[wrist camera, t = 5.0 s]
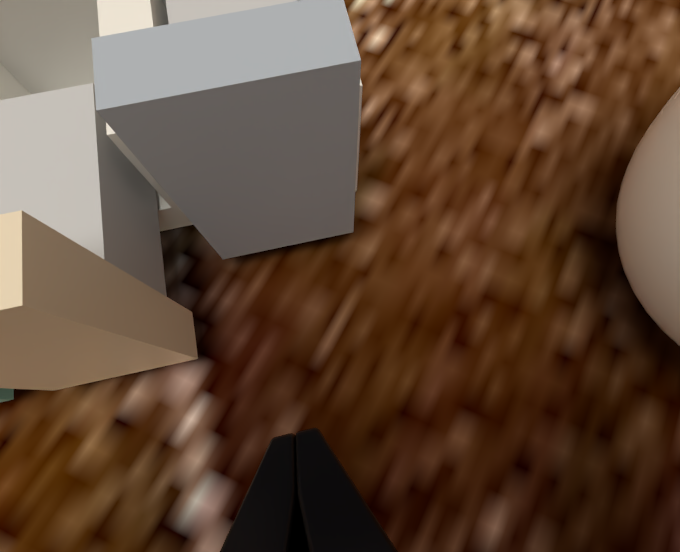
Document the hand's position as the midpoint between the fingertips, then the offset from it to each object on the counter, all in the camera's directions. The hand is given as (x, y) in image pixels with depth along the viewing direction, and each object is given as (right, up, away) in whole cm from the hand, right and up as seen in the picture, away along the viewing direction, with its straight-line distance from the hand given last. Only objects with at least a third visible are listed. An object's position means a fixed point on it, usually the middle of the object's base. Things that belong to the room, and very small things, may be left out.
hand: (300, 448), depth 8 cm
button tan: (-6, +3, +6) cm, 10 cm away
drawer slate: (-2, +7, +7) cm, 11 cm away
